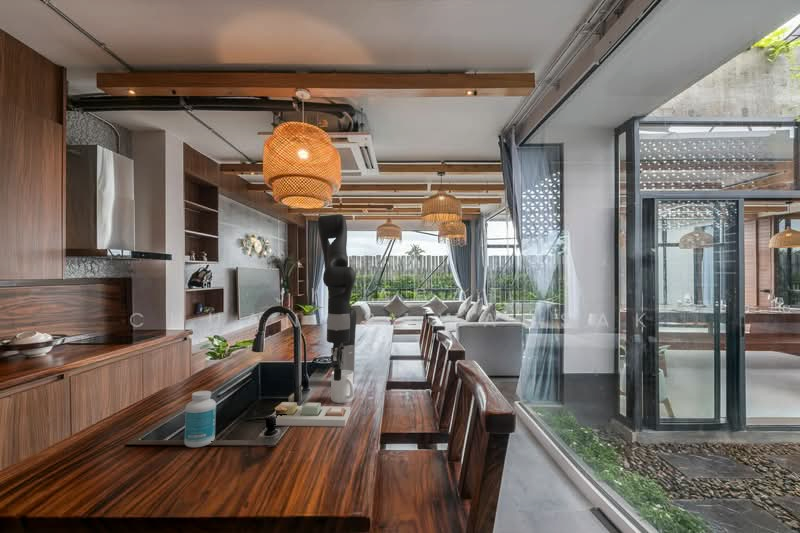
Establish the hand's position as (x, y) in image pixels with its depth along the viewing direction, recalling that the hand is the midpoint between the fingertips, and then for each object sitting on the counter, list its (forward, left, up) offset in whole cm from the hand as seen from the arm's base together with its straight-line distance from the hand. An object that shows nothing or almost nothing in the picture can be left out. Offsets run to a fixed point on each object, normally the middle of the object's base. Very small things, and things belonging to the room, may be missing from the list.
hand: (337, 380), depth 120 cm
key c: (0, -16, -11) cm, 19 cm away
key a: (0, 0, -12) cm, 12 cm away
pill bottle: (+19, -34, -13) cm, 41 cm away
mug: (-18, 0, -13) cm, 22 cm away
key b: (0, -8, -11) cm, 13 cm away
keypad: (0, -8, -13) cm, 15 cm away
